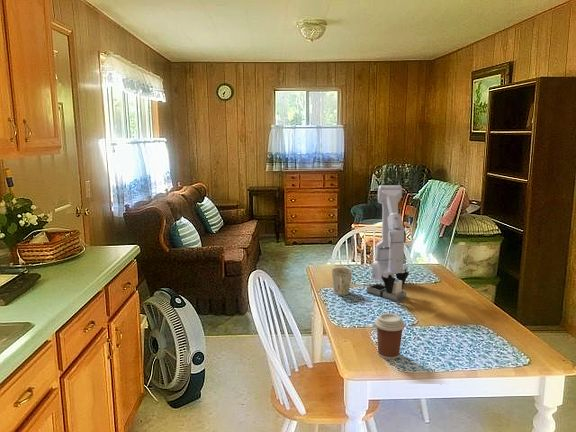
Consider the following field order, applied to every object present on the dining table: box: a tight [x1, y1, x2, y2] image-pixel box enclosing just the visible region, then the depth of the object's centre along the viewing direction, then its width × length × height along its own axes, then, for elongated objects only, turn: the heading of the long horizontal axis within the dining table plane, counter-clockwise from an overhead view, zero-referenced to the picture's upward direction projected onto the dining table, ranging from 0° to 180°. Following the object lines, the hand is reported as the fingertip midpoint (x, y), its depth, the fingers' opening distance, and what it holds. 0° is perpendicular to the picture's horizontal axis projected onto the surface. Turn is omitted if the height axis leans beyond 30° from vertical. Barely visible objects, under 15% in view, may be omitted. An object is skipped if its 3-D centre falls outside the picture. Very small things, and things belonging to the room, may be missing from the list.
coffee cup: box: [374, 312, 406, 360], centre depth 148 cm, size 9×9×12 cm
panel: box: [365, 283, 408, 303], centre depth 200 cm, size 15×9×3 cm, turn 43°
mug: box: [331, 267, 353, 296], centre depth 200 cm, size 8×13×10 cm, turn 174°
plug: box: [391, 277, 403, 295], centre depth 197 cm, size 4×4×8 cm
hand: (394, 290), depth 197 cm, fingers open, 7 cm apart
